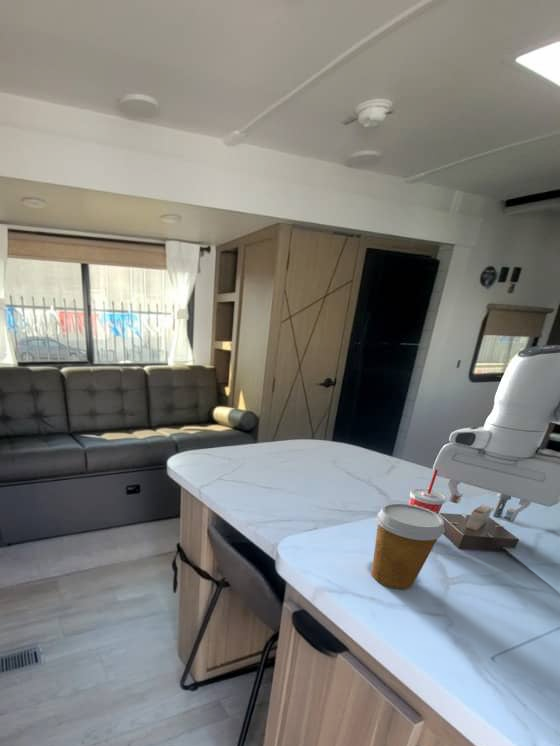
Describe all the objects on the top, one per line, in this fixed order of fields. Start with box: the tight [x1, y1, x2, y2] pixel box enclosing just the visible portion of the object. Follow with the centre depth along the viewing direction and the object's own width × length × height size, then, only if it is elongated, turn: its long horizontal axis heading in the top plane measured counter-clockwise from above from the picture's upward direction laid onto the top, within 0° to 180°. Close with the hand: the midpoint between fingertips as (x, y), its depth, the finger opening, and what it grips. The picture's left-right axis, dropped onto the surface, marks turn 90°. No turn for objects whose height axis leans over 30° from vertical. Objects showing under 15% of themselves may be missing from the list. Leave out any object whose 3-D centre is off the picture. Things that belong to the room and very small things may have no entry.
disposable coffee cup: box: [371, 502, 445, 590], centre depth 65 cm, size 10×10×12 cm
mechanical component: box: [491, 493, 512, 518], centre depth 90 cm, size 3×10×10 cm, turn 166°
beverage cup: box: [408, 470, 448, 514], centre depth 80 cm, size 6×6×14 cm
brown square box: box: [438, 512, 520, 553], centre depth 81 cm, size 10×10×3 cm
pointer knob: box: [466, 503, 494, 531], centre depth 80 cm, size 6×2×4 cm, turn 129°
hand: (480, 510), depth 79 cm, fingers open, 8 cm apart
